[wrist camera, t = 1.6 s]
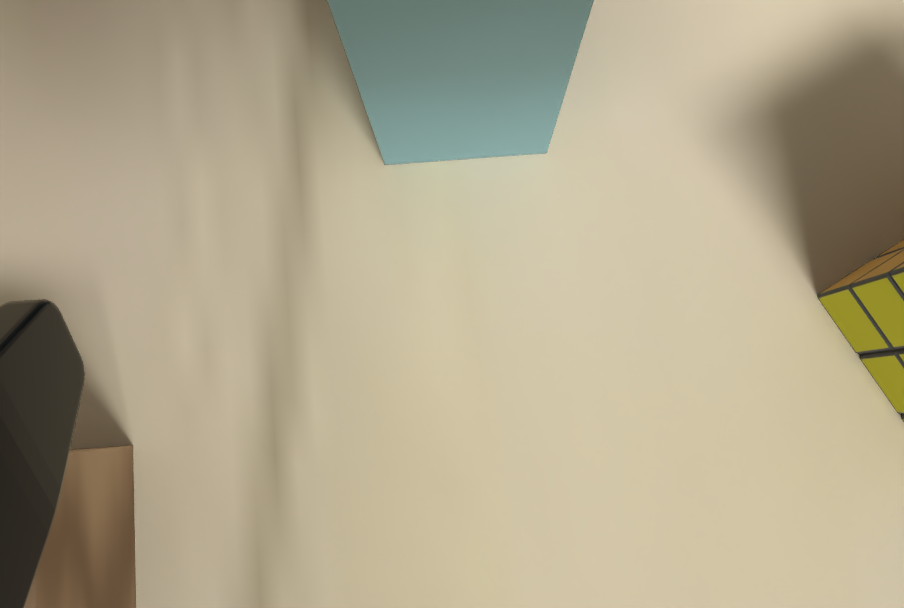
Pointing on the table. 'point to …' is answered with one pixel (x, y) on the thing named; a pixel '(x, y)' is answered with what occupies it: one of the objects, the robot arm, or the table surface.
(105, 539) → the walnut cube
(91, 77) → the table surface
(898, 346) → the puzzle toy
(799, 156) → the table surface
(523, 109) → the teal block
